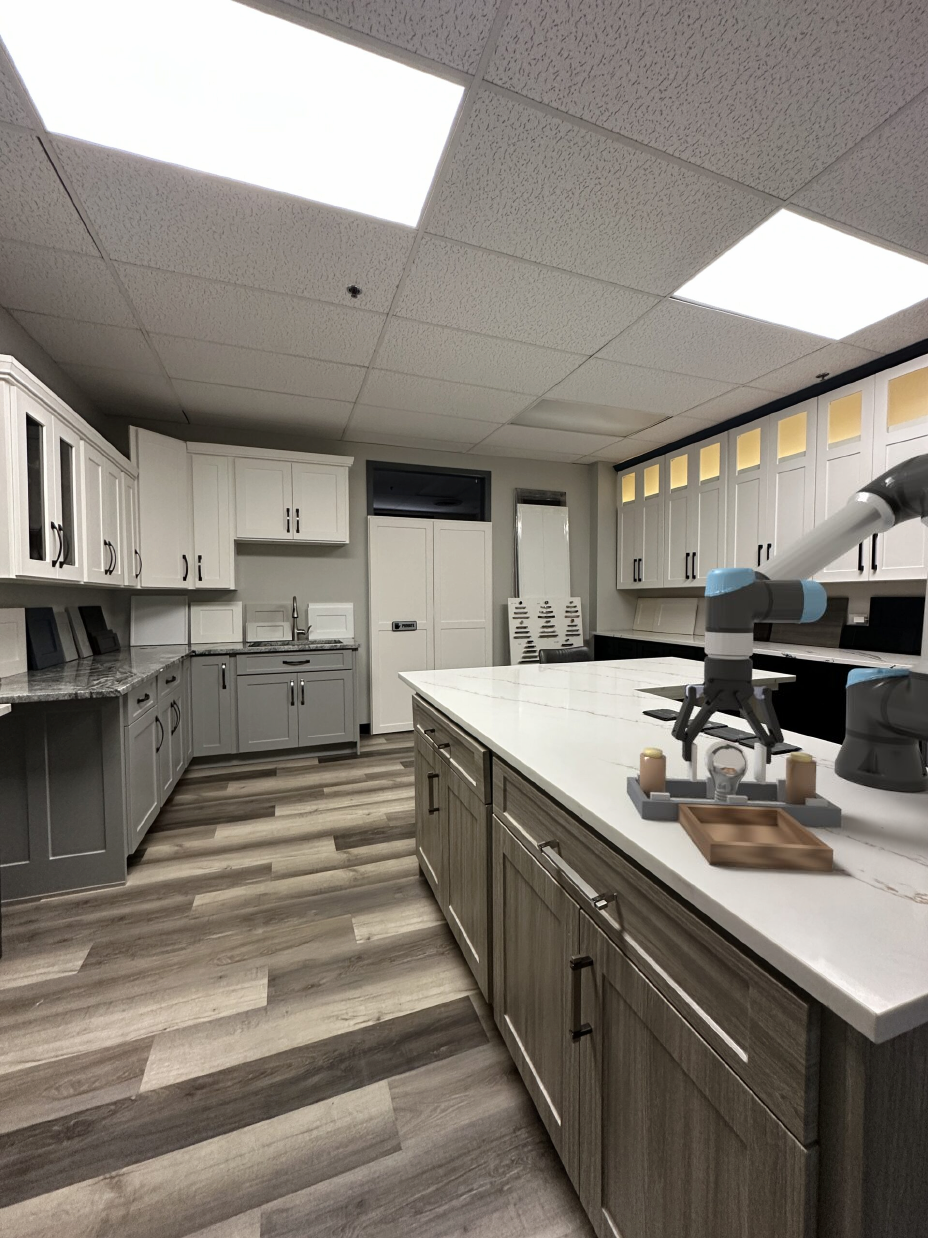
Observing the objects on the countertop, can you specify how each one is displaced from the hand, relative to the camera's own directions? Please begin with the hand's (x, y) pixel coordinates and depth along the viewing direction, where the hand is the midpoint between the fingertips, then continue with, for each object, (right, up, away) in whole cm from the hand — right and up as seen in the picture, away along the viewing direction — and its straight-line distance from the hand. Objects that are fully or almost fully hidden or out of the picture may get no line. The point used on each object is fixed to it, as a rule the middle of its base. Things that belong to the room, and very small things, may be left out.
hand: (725, 780), depth 90 cm
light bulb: (0, -5, 0) cm, 5 cm away
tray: (-3, -5, -13) cm, 15 cm away
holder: (0, -5, 0) cm, 5 cm away
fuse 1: (-12, -5, +1) cm, 13 cm away
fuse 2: (+12, -5, -1) cm, 13 cm away
